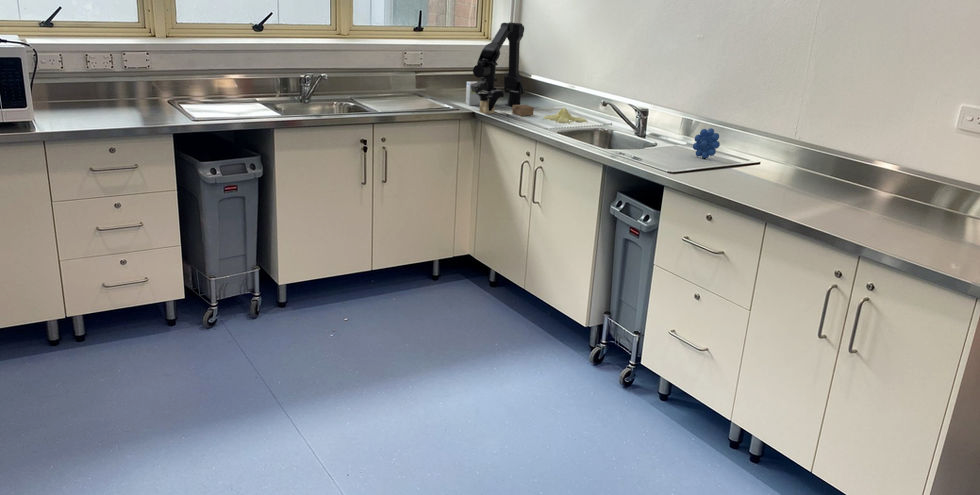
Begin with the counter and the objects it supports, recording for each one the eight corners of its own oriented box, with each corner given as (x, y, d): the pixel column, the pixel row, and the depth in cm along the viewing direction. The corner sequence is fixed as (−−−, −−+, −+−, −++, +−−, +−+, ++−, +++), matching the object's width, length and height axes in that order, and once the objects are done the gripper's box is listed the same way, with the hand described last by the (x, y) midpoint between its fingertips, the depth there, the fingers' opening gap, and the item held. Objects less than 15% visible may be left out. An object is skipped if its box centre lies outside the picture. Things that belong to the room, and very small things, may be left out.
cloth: (594, 123, 376) (595, 109, 374) (568, 126, 363) (569, 112, 361) (557, 114, 390) (558, 102, 388) (531, 118, 378) (532, 104, 376)
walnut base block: (512, 113, 383) (512, 105, 381) (524, 113, 386) (524, 104, 385) (520, 116, 377) (521, 107, 376) (533, 115, 381) (533, 107, 380)
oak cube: (479, 111, 382) (479, 101, 380) (488, 111, 385) (489, 100, 383) (485, 113, 378) (485, 102, 376) (494, 113, 381) (494, 102, 379)
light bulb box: (485, 103, 407) (486, 81, 403) (489, 105, 401) (491, 83, 397) (465, 103, 403) (466, 80, 400) (468, 105, 397) (470, 83, 394)
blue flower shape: (723, 161, 312) (728, 129, 308) (712, 162, 308) (717, 131, 304) (698, 154, 320) (703, 124, 316) (687, 156, 316) (692, 125, 312)
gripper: (463, 73, 379) (461, 107, 384) (485, 79, 364) (483, 114, 369) (483, 72, 385) (481, 106, 390) (505, 78, 370) (503, 113, 375)
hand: (486, 109), depth 381 cm, fingers closed on oak cube, 5 cm apart
